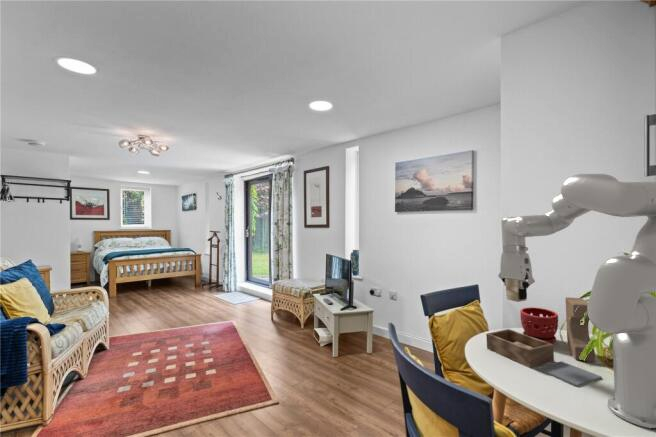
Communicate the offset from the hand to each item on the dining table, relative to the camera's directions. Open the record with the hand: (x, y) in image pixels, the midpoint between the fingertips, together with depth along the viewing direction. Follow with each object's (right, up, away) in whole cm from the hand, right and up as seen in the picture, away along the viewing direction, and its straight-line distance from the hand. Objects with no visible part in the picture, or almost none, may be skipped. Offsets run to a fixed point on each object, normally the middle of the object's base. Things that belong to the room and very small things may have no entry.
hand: (516, 297), depth 118 cm
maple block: (0, -1, 0) cm, 1 cm away
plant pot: (+17, -21, +13) cm, 30 cm away
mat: (+8, -21, -16) cm, 27 cm away
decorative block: (+22, -21, -3) cm, 31 cm away
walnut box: (+1, -22, 0) cm, 22 cm away
